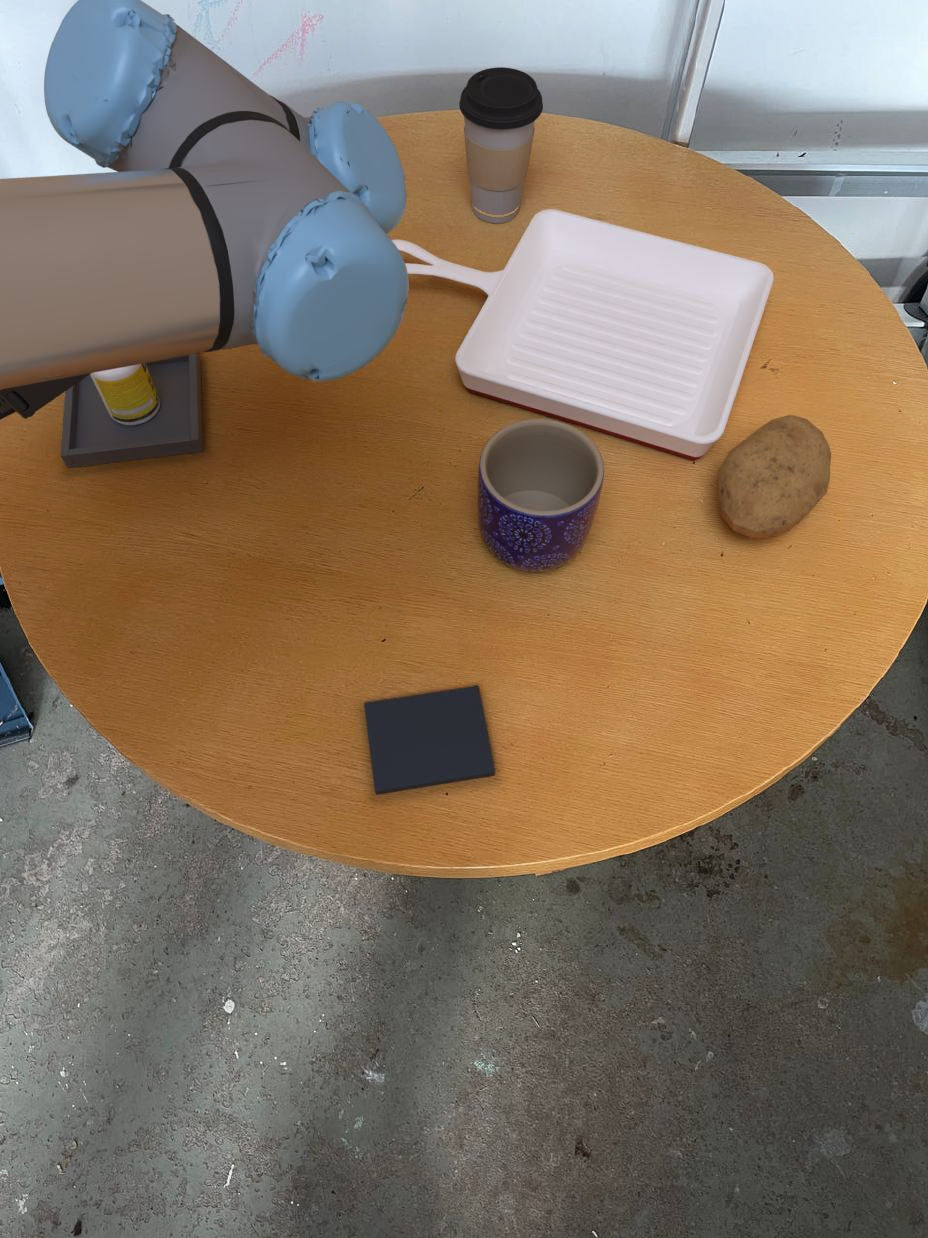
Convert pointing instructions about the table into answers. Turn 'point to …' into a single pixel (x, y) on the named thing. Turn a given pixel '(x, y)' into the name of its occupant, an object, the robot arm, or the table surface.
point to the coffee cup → (499, 138)
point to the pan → (612, 330)
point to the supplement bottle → (128, 393)
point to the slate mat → (428, 740)
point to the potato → (774, 477)
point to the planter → (538, 493)
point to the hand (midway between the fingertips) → (29, 356)
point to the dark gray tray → (165, 434)
